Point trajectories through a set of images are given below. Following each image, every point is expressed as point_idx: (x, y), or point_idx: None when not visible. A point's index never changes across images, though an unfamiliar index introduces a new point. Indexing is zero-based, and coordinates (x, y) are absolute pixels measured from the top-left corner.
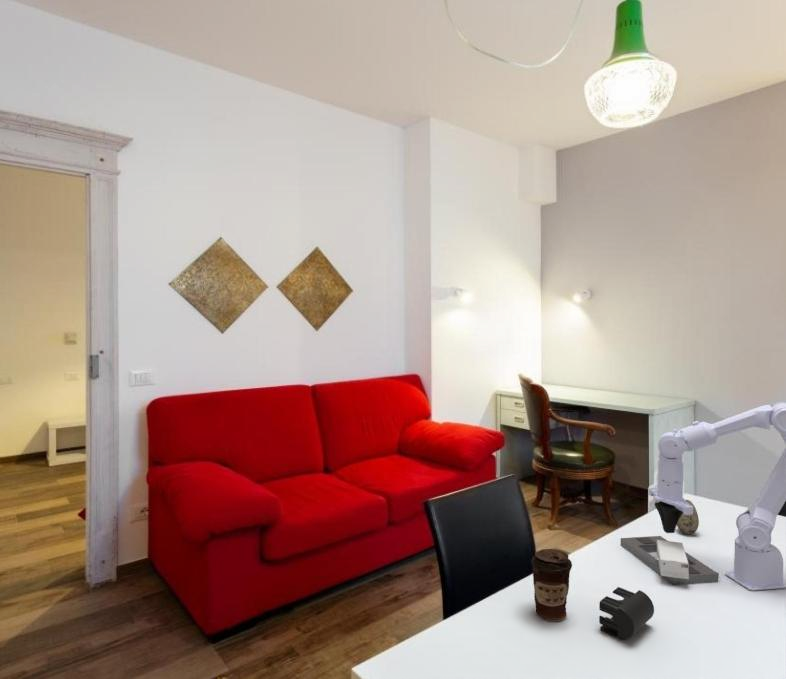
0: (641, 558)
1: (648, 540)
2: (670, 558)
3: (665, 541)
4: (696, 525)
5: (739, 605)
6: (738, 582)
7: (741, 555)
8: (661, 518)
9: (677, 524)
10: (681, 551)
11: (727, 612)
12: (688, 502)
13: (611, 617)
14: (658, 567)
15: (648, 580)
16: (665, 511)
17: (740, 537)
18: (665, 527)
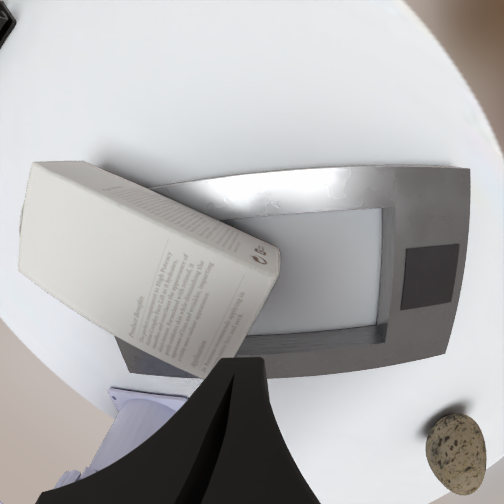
0: (297, 169)
1: (428, 289)
2: (34, 214)
3: (235, 313)
4: (427, 456)
5: (43, 316)
6: (138, 393)
7: (109, 453)
8: (257, 432)
9: (463, 420)
10: (102, 316)
11: (14, 268)
12: (465, 492)
13: (7, 11)
14: (157, 187)
15: (124, 121)
16: (56, 500)
17: (60, 486)
18: (213, 380)
